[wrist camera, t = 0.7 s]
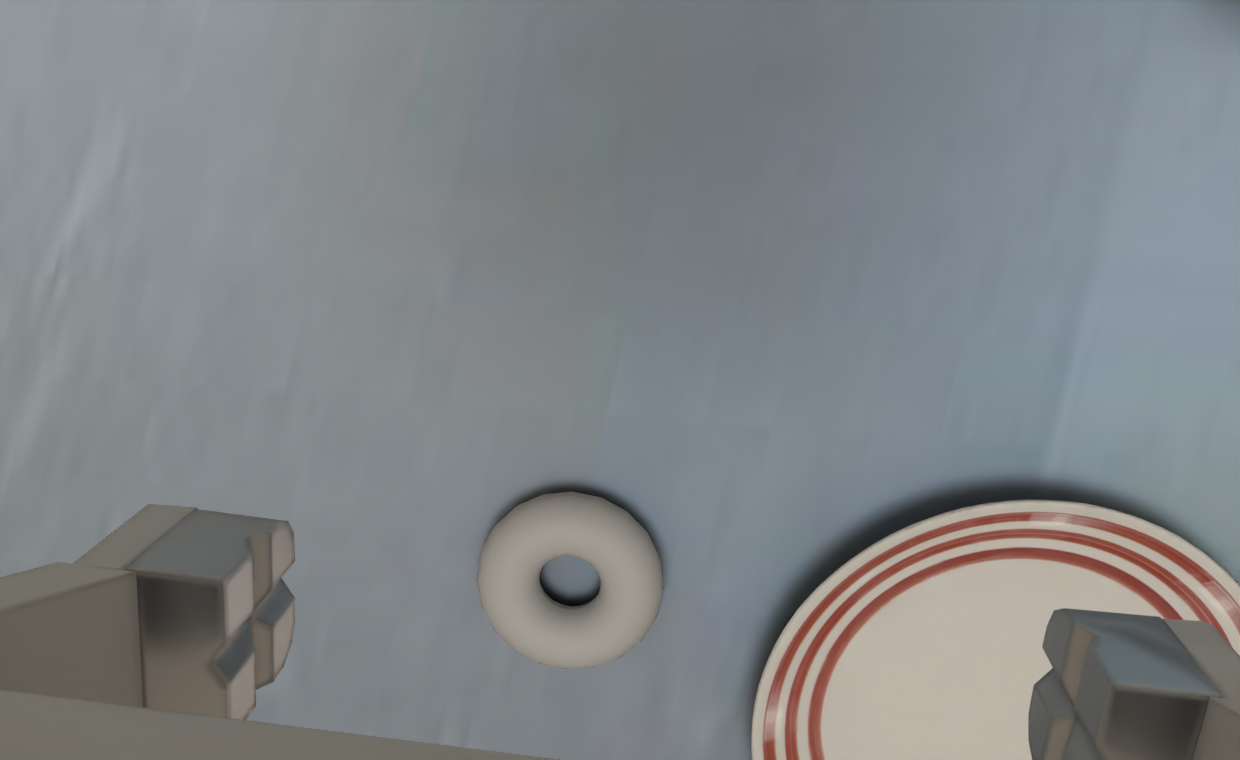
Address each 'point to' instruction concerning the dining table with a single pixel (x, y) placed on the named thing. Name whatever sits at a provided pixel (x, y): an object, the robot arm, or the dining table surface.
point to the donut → (580, 533)
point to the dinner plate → (965, 629)
